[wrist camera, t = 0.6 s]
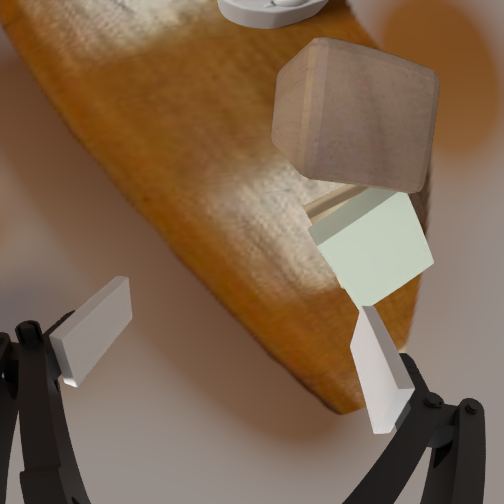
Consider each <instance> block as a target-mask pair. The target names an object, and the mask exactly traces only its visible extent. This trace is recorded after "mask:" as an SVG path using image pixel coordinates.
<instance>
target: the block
mask: <svg viewBox="0 0 504 504" xmlns="http://www.w3.org/2000/svg"><path fill="white" fill-rule="evenodd" d="M439 86H440V81H439V77H438V75H437V74H436V73H435V72H434V71H433V70H431V69H429V68H428V67H425V66H423V65H420V64H417V63H415V62H412V61H409V60H407V59H404V58H401V57H398V56H396V55H392V54H389V53H386V52H383V51H380V50H377V49H373V48H370V47H367V46H363V45H359V44H355V43H352V42H348V41H343V40H339V39H335V38H330V37H320V38H314V39H313V40H312V41H311V42H310V43H309V44H308V45H307V46H305V47H304V48H303V49H302V50H301V51H300V52H299V53H298V54H297V55H296V56H295V57H294V58H292V59H291V60H290V61H289V62H288V63H287V64H286V65H285V66H284V67H283V68H282V69H281V70H280V71H279V73H278V75H277V83H276V93H275V103H274V114H273V124H272V133H271V138H272V141H273V144H274V145H275V146H276V147H277V148H278V149H279V150H280V151H281V152H282V154H283V155H284V156H285V157H286V158H287V159H288V160H289V162H290V163H291V164H292V165H293V166H294V167H295V169H296V170H297V171H298V172H299V173H300V174H301V175H303V176H305V177H307V178H309V179H314V180H322V181H330V182H338V183H346V184H353V185H360V186H367V187H373V188H379V189H386V190H392V191H397V192H403V193H409V194H410V193H416V192H420V191H421V189H422V188H423V186H424V183H425V178H426V174H427V169H428V164H429V158H430V153H431V147H432V142H433V135H434V129H435V122H436V114H437V106H438V97H439Z"/></svg>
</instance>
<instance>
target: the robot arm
mask: <svg viewBox="0 0 504 504" xmlns="http://www.w3.org/2000/svg"><path fill="white" fill-rule="evenodd" d="M131 319H132V310H131V301H130V290H129V280H128V277H122V276H116V277H115V278H114V279H113V280H111V281H110V282H109V283H108V284H107V285H106V286H105V287H103V288H102V289H101V290H100V291H98V292H97V293H96V294H95V295H94V296H93V297H91V298H90V299H89V300H88V301H87V302H86V303H85V304H83V305H82V306H81V307H80V308H79V309H78V310H77V311H75V310H73V311H71V312H69V313H67V314H65V315H64V316H63V317H62V318H61V319H60V320H58V321H57V322H56V323H55V324H54V325H53V326H51V327H50V328H49V329H48V330H47V331H46V332H45V333H44V334H43V335H42V331H41V328H40V325H39V323H38V322H37V321H32V320H28V321H24V322H22V323H20V324H19V325H17V326H16V328H15V332H16V335H17V338H18V341H19V343H15V342H11V340H10V337H9V335H8V334H7V333H4V332H0V504H5V501H6V489H7V477H8V468H9V460H10V452H11V446H12V440H13V434H14V430H15V425H16V419H17V415H18V411H19V421H20V434H21V444H22V453H23V459H24V467H25V470H24V471H22V472H20V484H21V489H22V493H23V499H24V503H25V504H91V503H90V501H89V498H88V496H87V493H86V490H85V487H84V485H83V481H82V478H81V476H80V472H79V469H78V466H77V462H76V459H75V455H74V452H73V448H72V444H71V440H70V437H69V432H68V427H67V423H66V418H65V414H64V409H63V403H62V397H61V391H60V384H59V381H58V379H57V378H58V377H59V376H60V375H61V374H62V376H63V379H64V382H65V383H67V384H69V385H72V386H74V387H78V386H79V385H80V383H81V382H82V381H83V380H84V378H85V377H86V376H87V374H88V373H89V372H90V370H91V369H92V368H93V367H94V365H95V364H96V363H97V361H98V360H99V359H100V358H101V357H102V355H103V354H104V353H105V351H106V350H107V349H108V348H109V346H110V345H111V344H112V343H113V341H114V340H115V339H116V338H117V337H118V335H119V334H120V333H121V332H122V330H123V329H124V328H125V327H126V326H127V324H128V323H129V322H130V321H131ZM350 348H351V352H352V355H353V358H354V362H355V365H356V369H357V372H358V376H359V379H360V383H361V386H362V390H363V394H364V397H365V401H366V405H367V408H368V412H369V416H370V420H371V424H372V428H373V432H374V434H380V433H390V431H391V430H392V428H393V427H394V425H396V428H397V432H396V434H395V436H394V437H393V439H392V440H391V441H390V443H389V444H388V446H387V447H386V449H385V450H384V452H383V453H382V455H381V456H380V457H379V459H378V460H377V461H376V463H375V464H374V465H373V467H372V468H371V469H370V471H369V472H368V473H367V475H366V476H365V477H364V478H363V480H362V481H361V482H360V484H359V485H358V486H357V487H356V488H355V489H354V491H353V492H352V493H351V494H350V495H349V497H348V498H347V499H346V500H345V501H344V502H343V503H342V504H394V502H395V501H396V499H397V498H398V496H399V494H400V493H401V491H402V489H403V488H404V487H405V485H406V483H407V482H408V480H409V478H410V476H411V475H412V473H413V471H414V469H415V468H416V466H417V464H418V462H419V460H420V459H421V457H422V455H423V453H424V451H425V449H426V447H431V448H432V452H431V457H430V463H429V469H428V473H427V478H426V482H425V487H424V491H423V495H422V499H421V502H420V504H483V496H484V483H485V461H486V443H485V441H486V439H485V418H484V417H485V416H484V409H483V406H482V405H481V403H479V402H478V401H477V400H475V399H472V398H466V399H463V400H462V401H461V402H460V404H459V405H458V406H454V405H448V404H445V403H444V401H443V399H442V398H441V397H440V396H439V395H437V394H436V393H433V392H430V391H429V389H428V387H427V386H426V383H425V381H424V380H423V378H422V376H421V374H420V372H419V370H418V368H417V366H416V364H415V362H414V360H413V359H412V358H411V357H410V356H409V355H407V354H406V353H398V351H397V349H396V347H395V345H394V343H393V341H392V339H391V337H390V335H389V333H388V331H387V330H386V328H385V326H384V324H383V322H382V320H381V318H380V316H379V314H378V312H377V311H376V309H375V307H374V306H361V310H360V314H359V317H358V321H357V324H356V328H355V331H354V335H353V338H352V341H351V345H350Z"/></svg>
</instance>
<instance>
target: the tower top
mask: <svg viewBox="0 0 504 504" xmlns="http://www.w3.org/2000/svg"><path fill="white" fill-rule="evenodd" d="M308 230H309V232H310V234H311V236H312V238H313V240H314V242H315V244H316V246H317V248H318V249H319V251H320V252H321V253H322V255H323V256H324V258H325V259H326V261H327V262H328V264H329V265H330V267H331V268H332V270H333V271H334V273H335V274H336V276H337V277H338V279H339V280H340V282H341V283H342V285H343V286H344V288H345V289H346V291H347V292H348V294H349V296H350V297H351V299H352V300H353V302H354V303H355V305H356V306H357V308H358V310H359V311H360V310H361V306H372V305H373V304H375V303H377V302H378V301H380V300H381V299H383V298H384V297H386V296H387V295H389V294H390V293H392V292H393V291H395V290H396V289H398V288H399V287H401V286H402V285H404V284H405V283H407V282H408V281H409V280H411V279H412V278H414V277H415V276H417V275H418V274H419V273H421V272H422V271H424V270H425V269H426V268H428V267H429V266H431V265H432V264H433V263H434V261H433V258H432V255H431V253H430V249H429V247H428V244H427V241H426V238H425V236H424V233H423V231H422V228H421V225H420V223H419V220H418V218H417V215H416V213H415V211H414V208H413V206H412V203H411V201H410V199H409V197H408V194H407V193H403V192H397V191H392V190H386V189H379V188H373V187H369V188H368V189H366V190H365V191H363V192H362V193H360V194H359V195H357V196H356V197H354V198H353V199H351V200H350V201H348V202H347V203H345V204H344V205H342V206H341V207H339V208H338V209H336V210H335V211H333V212H332V213H330V214H329V215H327V216H326V217H324V218H323V219H321V220H320V221H318V222H317V223H315V224H314V225H312V226H311V227H309V228H308Z"/></svg>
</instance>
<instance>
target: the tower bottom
mask: <svg viewBox="0 0 504 504" xmlns="http://www.w3.org/2000/svg"><path fill="white" fill-rule="evenodd" d="M368 188H369V187H367V186H360V185H353V184H346V185H344V186H342V187H340V188H338V189H336V190H334V191H332V192H330V193H328V194H326V195H324V196H322V197H320V198H318V199H316V200H314V201H312V202H310V203H308V204H306V205H304V206H302V207H303V209H304V211H305V213H306V215H307V217H308V219H309V221H310V223H311V225H314V224H315V223H317V222H318V221H320V220H321V219H323V218H324V217H326V216H327V215H329V214H330V213H332V212H333V211H335V210H336V209H338V208H339V207H341V206H342V205H344V204H345V203H347V202H348V201H350V200H351V199H353V198H354V197H356V196H357V195H359V194H360V193H362V192H363V191H365V190H366V189H368ZM335 275H336V274H335ZM336 277H337V276H336ZM337 279H338V277H337ZM338 281H339V283H340V285H341V287H342V289H343V288H344V286H343V285H342V283H341V282H340V280H339V279H338Z"/></svg>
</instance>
